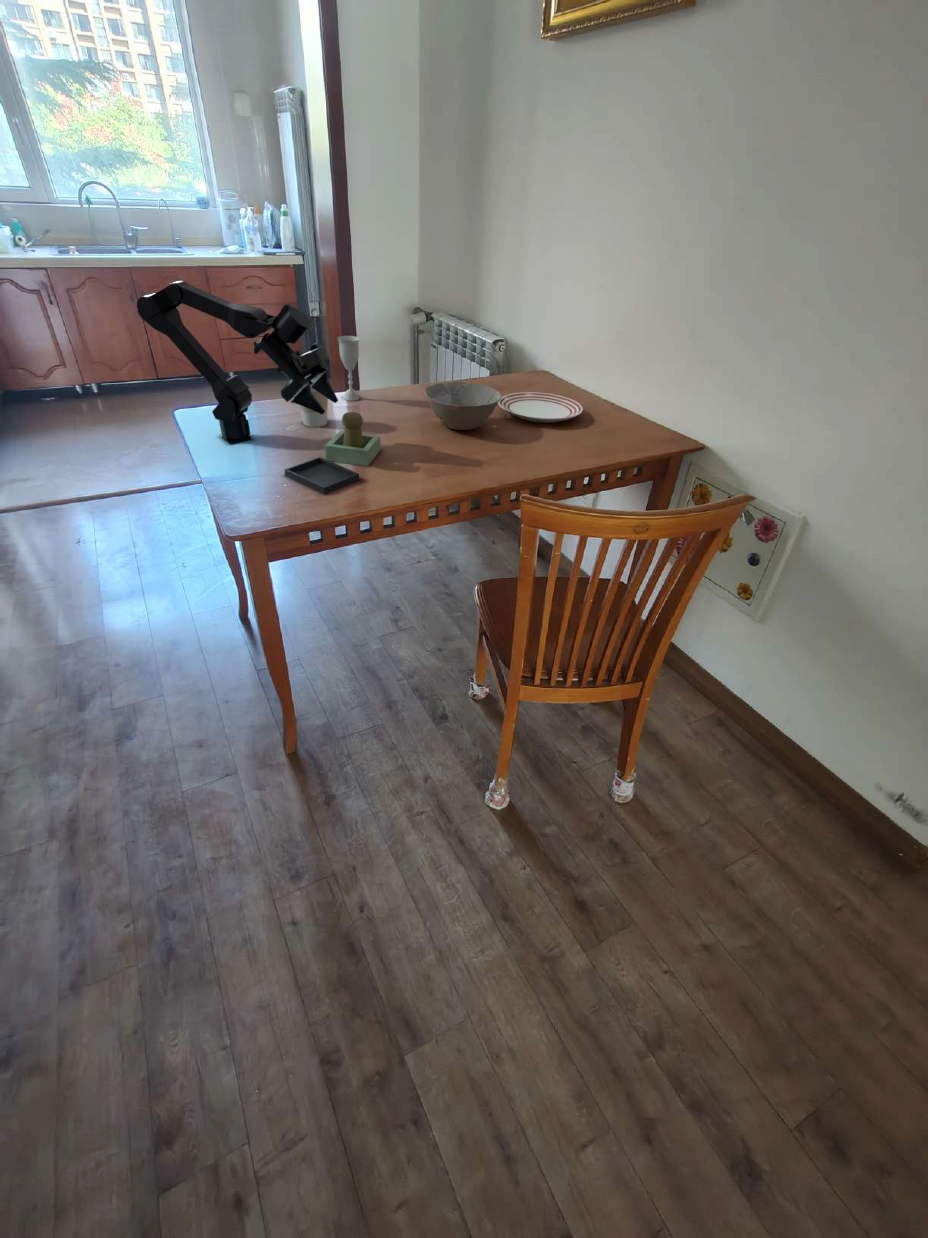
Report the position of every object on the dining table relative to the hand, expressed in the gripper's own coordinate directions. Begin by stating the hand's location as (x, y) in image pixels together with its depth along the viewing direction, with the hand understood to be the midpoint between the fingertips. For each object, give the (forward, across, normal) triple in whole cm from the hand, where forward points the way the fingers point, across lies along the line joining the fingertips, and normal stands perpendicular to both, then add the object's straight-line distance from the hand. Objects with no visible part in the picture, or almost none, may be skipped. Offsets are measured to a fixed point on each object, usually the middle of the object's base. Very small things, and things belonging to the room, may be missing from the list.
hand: (330, 407), depth 150 cm
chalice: (+1, +44, +16) cm, 47 cm away
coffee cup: (0, +19, +18) cm, 26 cm away
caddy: (+12, 0, +4) cm, 13 cm away
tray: (+10, -16, +6) cm, 20 cm away
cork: (+12, 0, +5) cm, 13 cm away
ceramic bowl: (+29, +32, -12) cm, 44 cm away
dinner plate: (+44, +52, -27) cm, 74 cm away
